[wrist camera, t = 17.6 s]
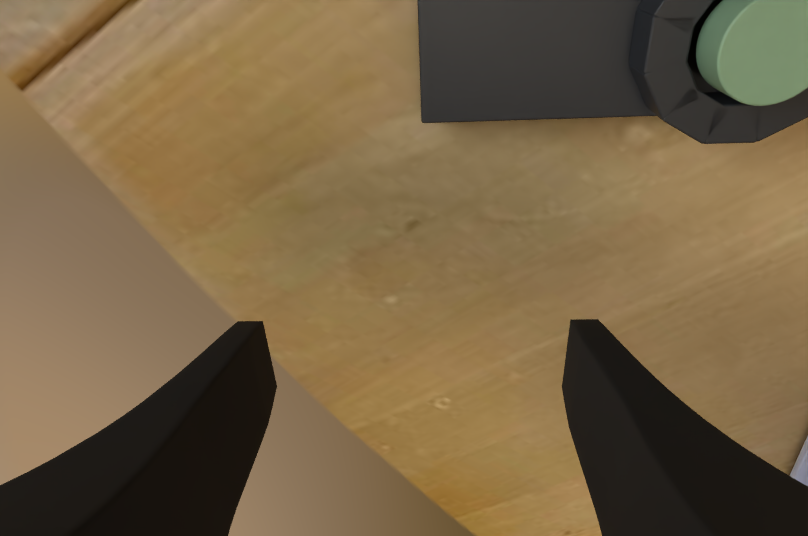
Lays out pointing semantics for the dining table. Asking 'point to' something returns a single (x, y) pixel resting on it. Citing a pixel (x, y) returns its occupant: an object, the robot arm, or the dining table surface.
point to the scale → (581, 66)
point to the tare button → (755, 50)
